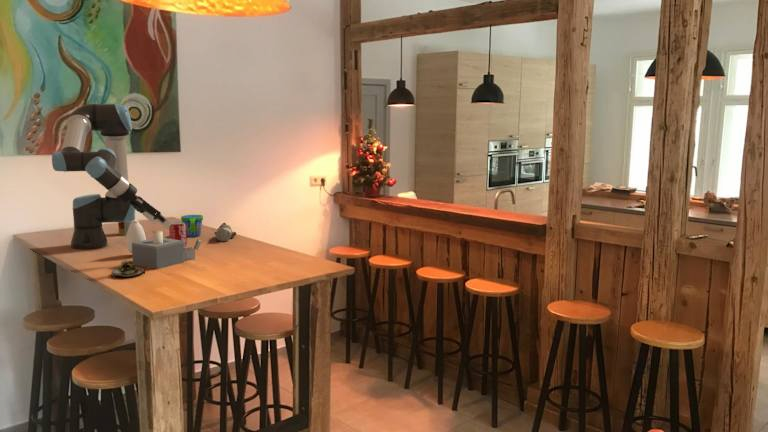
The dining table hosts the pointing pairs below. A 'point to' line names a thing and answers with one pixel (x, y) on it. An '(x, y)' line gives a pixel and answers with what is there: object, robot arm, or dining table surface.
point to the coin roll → (157, 237)
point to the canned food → (123, 227)
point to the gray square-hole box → (157, 253)
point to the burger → (127, 270)
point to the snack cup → (192, 225)
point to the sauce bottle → (134, 234)
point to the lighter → (191, 251)
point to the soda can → (178, 232)
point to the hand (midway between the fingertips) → (162, 223)
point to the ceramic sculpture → (224, 233)
